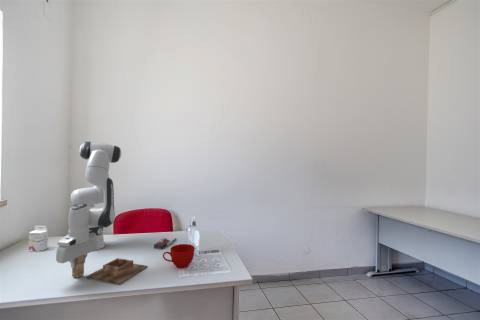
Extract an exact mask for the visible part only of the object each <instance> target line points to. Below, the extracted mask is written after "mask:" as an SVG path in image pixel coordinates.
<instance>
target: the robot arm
mask: <svg viewBox="0 0 480 320" xmlns="http://www.w3.org/2000/svg"><path fill="white" fill-rule="evenodd" d="M78 152H79V155H80V157H81V158H82V159H84V160H87V164H86V168H85V172H84V173H85V174H84V175H85V180H86V181H87V182H88V183H89V184H91V185H93V186H91V187H82V188H78V189H74V190H73V191H72V192H71V194H70V201H71V204H72V205H70V208H69V211H68V218H67V224H68V231H67V234H66V235H64V236H63V237H62V238H60V239H59V240H58V241H57V242H56V243H57V245H58V246H57V249H56V253H55V255H56V256H55V258H56V260H55V261H56V262H57V263H59V264H65V263H70V267H71V269H72V268H74V267H76V263H74V261H75V258H77V257H79V256H81V255H83V254H84V264H85V263H86V259H87V256H88V254H90V253H92V252H94V251H97V250H101V249H103V248H104V247H105V246H106V245H105V244H106V243H105V242H106V241H105V240H104V228H108V227H110V226H111V225H113V224H114V222H115V219H116V212H115V204H114V203H115V197H114V196H115V195H114V194H115V191H114V182H113V180H112V179H111V178H110V175H109V170H110V163H111V164H112V163H113V164H114V163H117V162H119V161H120V159H121V158H122V151H121V148H120V147H119V146H118V145H112V144H109V143H104V142H103V143H102V142H95V141H93V142H92V141H83V142H82V143H81V144H80V146H79V151H78ZM96 204H98V205H99V204H103V207H95V205H96Z"/></svg>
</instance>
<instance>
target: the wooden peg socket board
mask: <svg viewBox="0 0 480 320" xmlns="http://www.w3.org/2000/svg"><path fill="white" fill-rule="evenodd" d="M146 269H148V265H146V264H145V265H144V264H138V263H134V260H131V259H127V258H126V259H125V258H119V257H118V258H115V259H113V260H111V261H109V262H107V263H105V264H103V265H102V268H99V269H98V270H96V271H94V272H92V273H90V274H88V275H86V279H89V280H94V281H98V282H99V281H100V282H103V283H108V284H114V285H119V286H120V285H122V284H124V283H125V282H128V281H129V280H131V279H132V278H134V277H135V276H137V275H138V274H140V273H141V272H143V271H145V270H146Z"/></svg>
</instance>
